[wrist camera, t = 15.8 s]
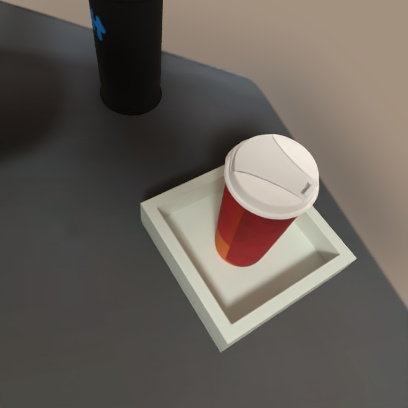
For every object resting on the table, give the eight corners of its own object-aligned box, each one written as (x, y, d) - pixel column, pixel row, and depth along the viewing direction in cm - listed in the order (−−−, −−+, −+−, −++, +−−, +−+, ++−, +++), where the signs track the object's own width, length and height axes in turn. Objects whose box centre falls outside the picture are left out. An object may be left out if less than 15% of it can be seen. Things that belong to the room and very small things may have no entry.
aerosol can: (167, 78, 54) (175, -84, 37) (154, 121, 50) (157, -40, 33) (109, 67, 54) (91, -102, 37) (92, 108, 50) (62, -60, 32)
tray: (141, 221, 42) (140, 203, 39) (255, 167, 48) (263, 147, 45) (220, 352, 36) (228, 344, 33) (339, 272, 42) (356, 258, 39)
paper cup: (287, 241, 42) (342, 166, 30) (247, 292, 39) (291, 230, 27) (232, 199, 44) (262, 113, 32) (189, 244, 40) (205, 166, 28)
